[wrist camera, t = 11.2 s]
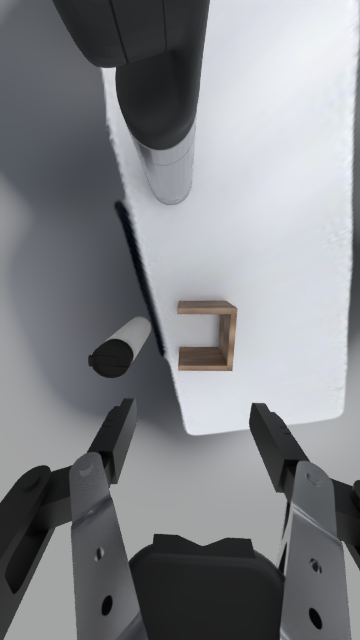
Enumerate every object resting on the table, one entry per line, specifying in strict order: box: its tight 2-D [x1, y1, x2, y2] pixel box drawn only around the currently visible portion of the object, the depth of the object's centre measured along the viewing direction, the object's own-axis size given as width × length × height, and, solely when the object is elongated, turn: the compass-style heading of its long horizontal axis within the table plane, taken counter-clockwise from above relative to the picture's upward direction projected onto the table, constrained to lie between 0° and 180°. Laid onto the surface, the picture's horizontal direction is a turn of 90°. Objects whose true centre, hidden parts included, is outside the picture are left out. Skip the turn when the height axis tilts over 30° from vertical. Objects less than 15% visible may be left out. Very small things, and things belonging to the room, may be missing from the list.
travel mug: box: [88, 316, 152, 378], centre depth 37 cm, size 6×7×20 cm
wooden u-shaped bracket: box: [177, 301, 237, 371], centre depth 41 cm, size 14×12×10 cm
